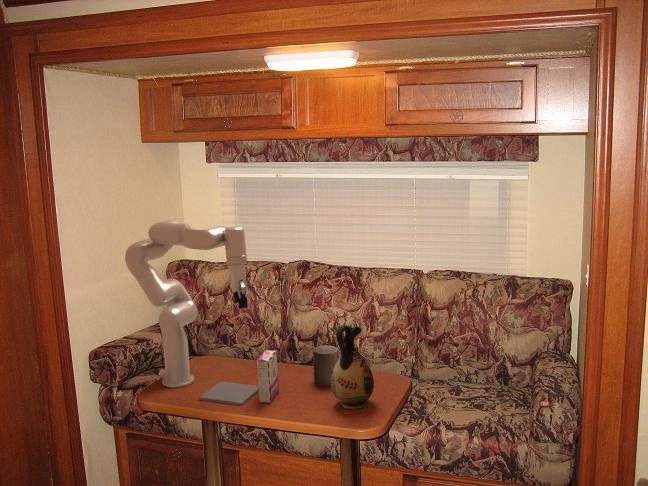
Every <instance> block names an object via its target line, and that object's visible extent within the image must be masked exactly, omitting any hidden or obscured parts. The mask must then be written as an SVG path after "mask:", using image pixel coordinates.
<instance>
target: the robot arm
mask: <svg viewBox="0 0 648 486" xmlns="http://www.w3.org/2000/svg"><path fill="white" fill-rule="evenodd" d="M244 229H245V228H244V227H242V226H230V227H229V226H224V225H223V226H221V225H219V226H215V227H211V228H206V229H194V228H192V227H191V226H190V225H189V224H187V223H180V222H179V221H177V220H175V219H169V220H164V221H158V222H155V223H154V224H152V225H151V226H150V228H149V229H148V237H149V238H147V239H143V240H139V241H136V242H134V243H132V244H130V245H129V246H128V247H127V249H126V251H125V255H124V256H125V257H124V260H125V262H124V263H125V265H126V267H127V269H128V271H129V272H130V274H131V275H132V276H133V277H134V278H135V280H136V281H137V282H138V284H139V286H140V288H141V290H143V292H144V294H145V295H146V297H147V299H148V300H149V303H151V304H152V305H153V306H154V307H157V308H160V307H164V306H166V305H168V304H170V305H169V306H167V307H165V308H163V310H161V311H160V313H159V316H158V324H159V328H160V331H161V337H162V345H163V357H164V369H162V368H160V369H159V371H158V374H157V375H158V376H159V377H163V379H162V381H161V382H162V385H163V386H164V387H167V388H182V387H186V386H189V385H191V384H192V383H194V381H195V376H194V375H193V374H191V369H190V358H189V357H190V355H189V342H188V336H187V333H186V332H185V330H184V327H185V326H186V325H190V324H191V323H193V322H194V321H195V320H196V319H197V317H198V315H199V314H198V307H197V305H196V303H195V302H194V300H193V299H192V297H191V295H190V294H189V292H188V291H187V289H186V288H185V286H184V285H183V283H182V282H180V281H179V280H177V279H176V278H167V279H163V278H162V277H161V275H160V273H159V272H158V270H157V269H156V268H155V267H154V266H152V265H150V264H149V263H148V261H149V262H150V261H153V260H156V259H160V258H162V257H164V256H165V255H166V254H167V253H168V252H169V251H170V250H171V249H172V248H173V246H182V247H184V248H187V249H190V250H199V251H200V250H204V251H209V250H213V249H216V248H219V247H223V246H225V247H224V249H225V259H226V265H227V266H228V270H229V273H228V274H229V287H230V289H231V290H232V292H233V300H234V304H235V303H236V304H238V308H239V309H247V308H248V307H249V304H248V303H249V302H248V296H247V289H248V284H247V283H248V282H247V274H246V273H247V272H246V266H245V265H247V264H248V258H247V257H248V256H247V246H246V236H245V230H244Z"/></svg>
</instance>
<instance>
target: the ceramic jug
mask: <svg viewBox="0 0 648 486" xmlns="http://www.w3.org/2000/svg"><path fill="white" fill-rule="evenodd" d="M362 332H363V329H362V328H360V327H359V326H356V325H355V326H353V327H352V326H351V325H345V324H341V325H339V326H338V327H337V329H336V342H337V344H338V345H337V346H338V348H339V352H341V354H340V355H339V356H338V361H337V363H336V364H335V366H334V369H333V372H332V376H331V387H330V388H331V392H332V393H333V395H334V397H335V398H336V399H337V400H338V401H339V402H340V404H341V406H342V407H343V408H344V409H362V408H365V407H367V406H368V400H369V398H371V396H372V395H373V392H374V389H375V388H374V387H375V379H374V376H373V373H372V370H371V368H370V367H371V366H369V363H368V362H367V361H366V359H365V358H364V356H363V355H362V354H361V353H360V351H358V349H357V348H356V346H355V339H356V338H357V336H359V335H360V334H361V333H362ZM343 334H344V335H343ZM343 336H344V337H343Z"/></svg>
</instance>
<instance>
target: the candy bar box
mask: <svg viewBox="0 0 648 486" xmlns="http://www.w3.org/2000/svg"><path fill="white" fill-rule="evenodd" d="M277 353H278V352H277V350H270V349H269V350H268V349H266V350H264V351H263V352H262V353H261V354H260V356H259V357H258V358H257V359H256V360H255V361H256V374H257V375H256V376H257V386H258V390H259V392H258V401H259V403H265V404H266V403H268V404H269V403H270V404H271V403H272V402H273V401H274V399H275V398H276V396H277V395H278V393H279V392H280V385H279V383H280V382H279V372H278V356H277V355H278V354H277Z"/></svg>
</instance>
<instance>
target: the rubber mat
mask: <svg viewBox="0 0 648 486" xmlns="http://www.w3.org/2000/svg"><path fill="white" fill-rule="evenodd" d="M258 393H259V390H258V385H252V384H246V383H245V384H244V383H236V382H228V381H220V382H218V383H217V384H216V385H214V386H213V387H211V388H210V389H208V390H207V391H206V392H205V393H203V394H202V395H201V396H199V398H198V399H199V401H204V402H213V403H219V404H228V405H235V406H244V405H245V404H246V403H247V402H248V401H250V399H252V398H253V397H254V396H255V395H257V394H258Z"/></svg>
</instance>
